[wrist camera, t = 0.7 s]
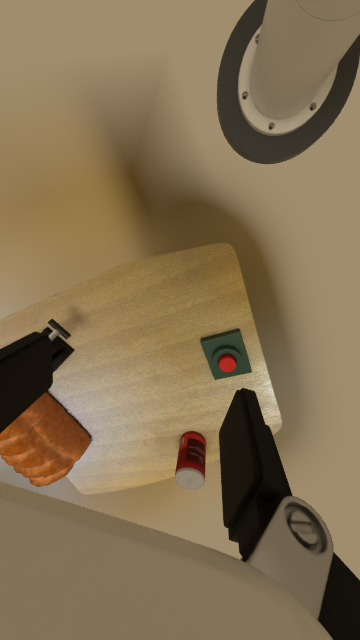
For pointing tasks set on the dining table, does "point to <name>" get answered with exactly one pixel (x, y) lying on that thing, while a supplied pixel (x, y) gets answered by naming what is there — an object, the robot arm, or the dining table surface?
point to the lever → (57, 330)
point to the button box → (226, 345)
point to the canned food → (191, 461)
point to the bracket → (58, 350)
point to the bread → (43, 442)
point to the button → (227, 363)
